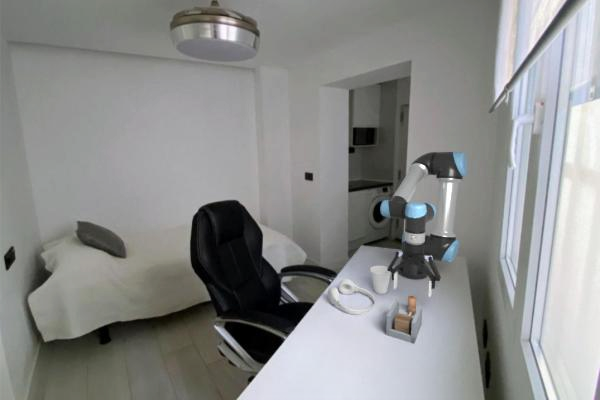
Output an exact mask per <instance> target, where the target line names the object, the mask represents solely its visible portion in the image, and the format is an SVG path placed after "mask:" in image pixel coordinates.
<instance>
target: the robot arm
mask: <svg viewBox="0 0 600 400" xmlns="http://www.w3.org/2000/svg"><path fill="white" fill-rule="evenodd" d="M468 168H469V167H468V159H467V155H466V154H465V153H464V152H459V151H431V152H430V151H429V152H428V153H425V154H424V153H423V154H422V155H420V156H419V157H417V158H416V159H414V160H413V162H412V163H411V164H410V165H409V167H408V172H407V174H406V176H405V177H404V179H403V180H402V181H401V183H400V184H399V186H398V188H397V190H396V191H395V193H394V194H393V195H392V197H391V199H390V200H389V199H387V200H385V199H383V200H382V202H381V204H380V207H379V208H380V209H379V210H380V215H382V217H386V218H390V219H398V220H404V221H405V222H404V233H402V237H401V250H400V249H397V250H396V251H395V253H394V258H393V259H392V261H391V262H390V264H389V265H388V266H387V267H388V269H387V271H390V272H391V280H392V281H393V290H396V289H397V287H398V275H400V276H401V277H403V278H407V279H411V280H423V279H425V278H427V277H428V278H429V282H428V297H429V298H431V297H432V295H433V290H435V288H436V282H440V281H441V278H442V276H441V275H440V272H439V271H438V268H437V266H436V263H435V261H438V262H441V263H449V264H452V263H453V262H454V261H455V260H456V258H457V255H458V253H459V247H460V240H458V239H457V235H456V234H455V232H454V227H455V218H456V209H457V199H458V190H459V185H460V183H461V182H462V181H463V178H464V177H467V175H468ZM428 176H435V177H436V178H435V179H436V180H437V182H438V190H437V199H436V200H437V201H436V206H435V205H434V204H432V203H431V202H417V201H416V202H415V201H413V202H411V199H412V198H413V197H414V195H415V193H416V192H417V190H418V188H419V186H420V185H421V184H422V181H423V180H424V179H426V178H427V177H428ZM433 219H434V228H433V230H432V231H430V233H429V235H427V232H426V225H427V224H426V223H428V222H430V221H433ZM400 257H401V258H400ZM399 258H400V262H399V263H398V265H396V266H395V267H394V265H395V264H396V262H397V261H398V259H399ZM426 261H427V262H428V264H429V266H430V268H429V267H428V266H427V264H426ZM430 269H431V270H430Z"/></svg>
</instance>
